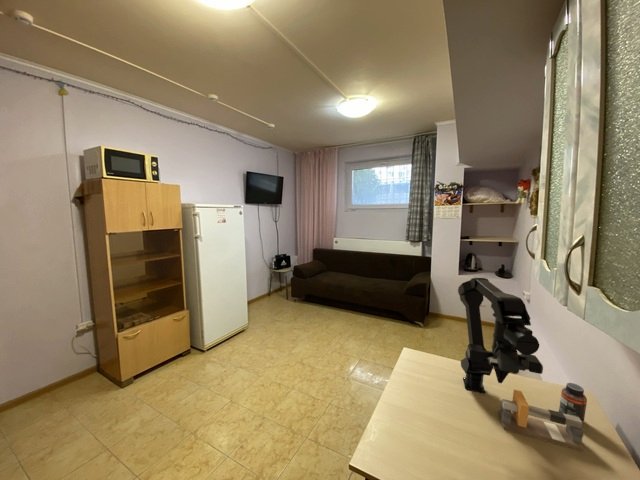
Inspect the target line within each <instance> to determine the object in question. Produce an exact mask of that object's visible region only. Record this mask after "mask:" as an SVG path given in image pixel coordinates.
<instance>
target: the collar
mask: <svg viewBox="0 0 640 480" xmlns="http://www.w3.org/2000/svg"><path fill="white" fill-rule="evenodd" d="M511 401H514V402H517V405H518V411H517V412H514V411H511V412H512V413H513V414H514V416H515V419H516V421H517V424H518V426H522V427H527V419H528V418H529V415H528V412H529V405H530V404H529V403H528V402H527V399H526V398H525V395H524V394H523V392H522V390H517V389H513V392H512V400H511Z"/></svg>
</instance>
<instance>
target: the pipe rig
mask: <svg viewBox="0 0 640 480" xmlns="http://www.w3.org/2000/svg"><path fill="white" fill-rule="evenodd" d="M528 405H529V412H528V416H530V417H528V419H527V427H522V426H518V424H517V421H516V419H515V416H514V414H513V412H512V411H514V412H517V411H518V405H517V402H514V401H512V400H509V399H506V398H501V402H500V406H499V409H498V410H497V412H498V413H497V414H498V416H499V419H500V423H501V425H502V429H503V430H506V431H510V432H513V433H516V434H520V435H525V436H527V437H531V438H534V439H538V440H542V441H545V442H548V443H553V444H554V445H555V444H556V445H560V446H563V447H567V448H571V449H575V450H578V451H581V452H584V451H585V447H584V446H583V437H584V436H583V435H584V430H583V429H582V427H583V424H584V423H583V422H582V421H581V420H580V418H579V417H576V416H572V415H567V414H563V413H561V412H559V411H556V410H554V409H553V410H551V409H547V408H542V407H538V406H534V405H530V404H528ZM531 417H534V418H531ZM535 418H538V419H535ZM539 419H542V420H539ZM543 420H545V421H543ZM546 420H547V421H550V422H547V421H546ZM551 422H552V423H551ZM555 423H557V424H555ZM582 423H583V424H582ZM563 425H564V426H563Z"/></svg>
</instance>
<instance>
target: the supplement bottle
mask: <svg viewBox="0 0 640 480" xmlns="http://www.w3.org/2000/svg"><path fill="white" fill-rule="evenodd" d="M584 390H585V389H584V388H583V386H580V385H579V384H577V383H572V382H567V383H566V385H565V387H563V388H562V389H561V393H560V401H559V406H558V412H561V413H563V414H567V415H572V416H576V417H579V418H580V420H581V421H582V422H583V423H582V425H583V424H584V422H585V415H586V411H587V410H586V409H587V403H588V398H587V396H586V395H585V391H584Z"/></svg>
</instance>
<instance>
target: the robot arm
mask: <svg viewBox="0 0 640 480" xmlns="http://www.w3.org/2000/svg"><path fill="white" fill-rule="evenodd" d="M457 293H458V295H459V300H460V301H461V303H462V304H463V305H464V307H465V313H466V314H465V315H466V325H467V336H468V344H467V349H466V350H465V352H464V353H465V355H464V358H463V359H461V360H460V367H461V369H462V370H463V371H464V374H465V377H464V376H463V377H462V381H463V385H464V389H465V390H470V391H473V392H478V393H481V394H485V393H486V391H485V387H484V384H483V383H484V376H491V373H492V371H493V370H494V373H495V376H496V379H497V383H498V384H503V382H504V380H505V379H507V376H508V375H509V374H510V373H512V374H519V372H520V371H524V372H525V371H529V373H530V372H531V373H535V374H539V375H541V374H542V375H543V370H544V365H543V364H542V362H541V361H540V360H539V358H538V357H537V356H536V355H534V354H535V353H537V352H538V350H539V349H540V343H539V342H540V341H539V340H538V338H537V337H536V336H535V335H533V330H532V329H530V328H528V327H526V326H532V323H531V317H530V315H529V313H528V310H527V307H526V304H525V303H524V300H522V298H520V297H518V296H516V295H513V294H509V293H505V291H502V290H501V289H500V288H498V287H497V286H495V285H494V284H493V283H492V282H490V280H489V278H486V277H473V278H471V279H470V280H467V281H465V282H462V283H461V284H460V285H459V286H458V289H457ZM484 298H486V299H487V300H488V301H490V303H491V305H490V308H491V309H492V310H493V313H492V317H494V318H495V319H494V328H493V335H492V337H493V338H492V345H491V350H490V351H489V350H487V348H485V343H484V335H483V334H484V333H483V326H482V317H481V309H480V308H481V307H480V306H481V305H482V303H483V302H484ZM518 353H520V354H518ZM464 378H465V379H464Z"/></svg>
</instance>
